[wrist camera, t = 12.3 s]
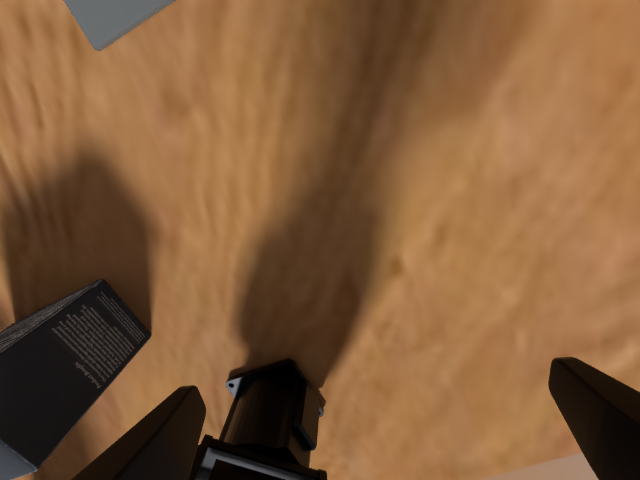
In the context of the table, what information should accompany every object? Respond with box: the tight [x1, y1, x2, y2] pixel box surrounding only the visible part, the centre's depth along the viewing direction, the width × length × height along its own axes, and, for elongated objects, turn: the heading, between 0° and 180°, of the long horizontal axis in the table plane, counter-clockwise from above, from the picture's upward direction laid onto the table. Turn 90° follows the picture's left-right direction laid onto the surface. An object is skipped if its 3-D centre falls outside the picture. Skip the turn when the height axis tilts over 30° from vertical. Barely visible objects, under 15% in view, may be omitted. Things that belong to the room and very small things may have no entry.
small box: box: [0, 279, 151, 480], centre depth 20 cm, size 11×6×10 cm, turn 117°
